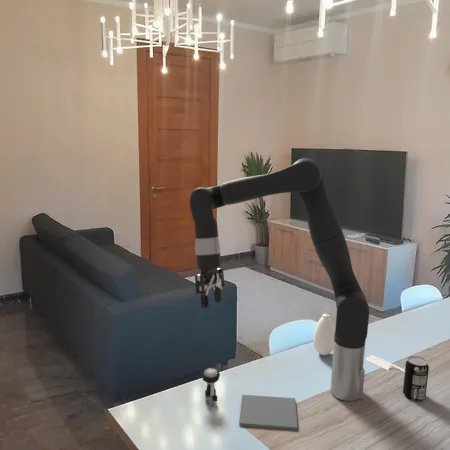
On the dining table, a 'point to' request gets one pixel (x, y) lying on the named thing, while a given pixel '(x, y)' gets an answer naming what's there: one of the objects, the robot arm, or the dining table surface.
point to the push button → (210, 385)
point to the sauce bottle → (324, 335)
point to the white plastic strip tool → (383, 363)
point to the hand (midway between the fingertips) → (212, 304)
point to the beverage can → (415, 378)
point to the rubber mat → (268, 412)
